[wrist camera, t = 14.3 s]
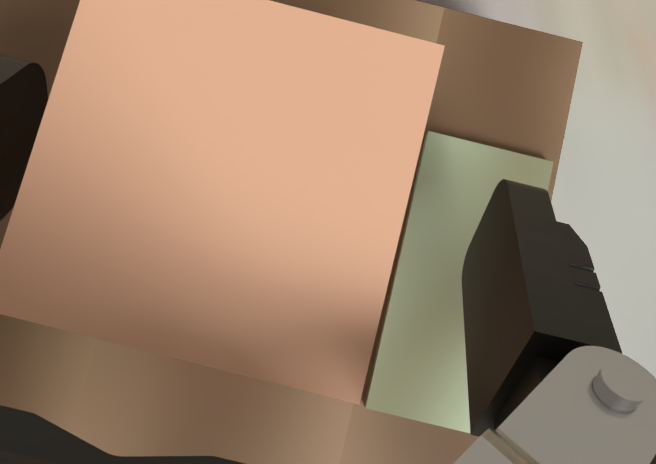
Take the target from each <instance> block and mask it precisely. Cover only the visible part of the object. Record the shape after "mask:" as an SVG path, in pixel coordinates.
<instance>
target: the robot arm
mask: <svg viewBox="0 0 656 464" xmlns="http://www.w3.org/2000/svg"><path fill="white" fill-rule="evenodd" d="M47 102H48V92H47V82H46V76H45V73H44V70H43V68H42V67H41V66H40V65H39V64H38V63H35V62H31V61H27V60H23V59H19V58H15V57H10V56H6V55H2V54H0V221H1V220H2V219H3V218H4V217H5V216H6V215H7V214H8V213H9V212H10V211H11V209H12V208H13V207H14V205H15V202H16V199H17V196H18V193H19V189H20V186H21V183H22V180H23V177H24V174H25V171H26V168H27V164H28V161H29V158H30V155H31V152H32V149H33V146H34V143H35V139H36V136H37V133H38V130H39V127H40V124H41V121H42V118H43V115H44V111H45V108H46V105H47ZM593 271H594V266H593V263H592V260H591V257H590V254H589V251H588V248H587V246H586V245H585V243H584V242H583V241H582V240H581V239H580V237H579V236H578V235H577V234H576V233H575V231H574V230H573V229H572V228H571V226H570V225H569V224H565V223H561V222H556V219H555V215H554V212H553V208H552V204H551V201H550V197H549V194H548V191H547V190H546V189H543V188H539V187H535V186H530V185H526V184H522V183H518V182H514V181H510V180H506V179H502V180H501V181H500V182H499V183H498V184H497V186H496V188H495V190H494V192H493V194H492V196H491V198H490V201H489V203H488V205H487V207H486V209H485V212H484V214H483V216H482V218H481V220H480V223H479V225H478V227H477V229H476V231H475V234H474V236H473V238H472V240H471V242H470V245H469V247H468V250H467V252H466V256H465V259H464V264H463V269H462V297H463V314H464V331H465V348H466V365H467V383H468V400H469V417H470V434H471V435H474V436H478V437H479V438H478V439H477V440H476V441H475V442H474V443H473V444H472V445H471V446H470V447H469V448H468V449H467V450H466V451H465V452H464V453H463V454H462V455H461V456H460V457H459V458H458V459H457V460H456V461H455V462H454V464H656V379H655V377H654V376H653V375H652V374H650V373H649V372H648V371H647V370H646V369H645V368H644V367H642V366H641V365H640V364H638V363H637V362H635V361H634V360H632V359H631V358H629V357H627V356H625V355H623V354H622V351H621V348H620V345H619V342H618V339H617V336H616V333H615V330H614V327H613V324H612V321H611V318H610V315H609V312H608V309H607V306H606V303H605V300H604V296H603V293H602V292H600V291H599V290H600V284H599V281H598V278H597V275H596V273H593ZM0 464H245V463H241V462H237V461H233V460H229V459H224V458H220V457H216V456H115V455H111V454H109V453H106V452H104V451H102V450H101V449H99V448H97V447H95V446H93V445H91V444H90V443H88V442H86V441H84V440H82V439H81V438H79V437H77V436H75V435H73V434H71V433H70V432H68V431H66V430H64V429H62V428H60V427H59V426H57V425H55V424H53V423H51V422H49V421H48V420H46V419H44V418H42V417H40V416H38V415H37V414H35V413H31V412H27V411H23V410H19V409H15V408H10V407H6V406H2V405H0Z"/></svg>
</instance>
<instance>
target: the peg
mask: <svg viewBox="0 0 656 464" xmlns="http://www.w3.org/2000/svg"><path fill="white" fill-rule="evenodd" d="M444 47H445V46H444V45H440V44H436V43H432V42H429V41H425V40H421V39H417V38H413V37H409V36H405V35H402V34H398V33H394V32H390V31H386V30H382V29H378V28H375V27H371V26H367V25H363V24H359V23H355V22H351V21H347V20H344V19H340V18H336V17H332V16H328V15H324V14H320V13H317V12H313V11H309V10H305V9H301V8H297V7H293V6H289V5H286V4H282V3H278V2H274V1H270V0H80V2H79V5H78V8H77V12H76V15H75V18H74V21H73V24H72V27H71V30H70V33H69V36H68V40H67V43H66V46H65V49H64V52H63V55H62V58H61V61H60V65H59V68H58V71H57V74H56V77H55V80H54V83H53V86H52V90H51V93H50V96H49V99H48V102H47V105H46V108H45V111H44V115H43V118H42V121H41V124H40V127H39V130H38V133H37V136H36V139H35V143H34V146H33V149H32V152H31V155H30V158H29V161H28V164H27V168H26V171H25V174H24V177H23V180H22V183H21V186H20V189H19V193H18V196H17V199H16V202H15V205H14V208H13V211H12V214H11V218H10V221H9V224H8V227H7V230H6V233H5V236H4V239H3V242H2V246H1V249H0V314H1V315H5V316H9V317H13V318H17V319H21V320H25V321H29V322H33V323H37V324H41V325H45V326H49V327H53V328H57V329H61V330H65V331H69V332H73V333H77V334H81V335H85V336H89V337H93V338H97V339H101V340H105V341H109V342H113V343H117V344H121V345H125V346H129V347H133V348H137V349H140V350H144V351H148V352H152V353H156V354H160V355H164V356H168V357H172V358H176V359H180V360H184V361H188V362H192V363H196V364H200V365H204V366H208V367H212V368H216V369H220V370H224V371H228V372H232V373H236V374H240V375H244V376H248V377H252V378H256V379H260V380H264V381H268V382H272V383H276V384H280V385H284V386H287V387H291V388H295V389H299V390H303V391H307V392H311V393H315V394H319V395H323V396H327V397H331V398H335V399H339V400H343V401H347V402H351V403H355V404H360V400H361V396H362V392H363V387H364V383H365V379H366V375H367V371H368V366H369V362H370V358H371V354H372V350H373V345H374V341H375V337H376V333H377V329H378V324H379V320H380V316H381V312H382V308H383V303H384V299H385V295H386V291H387V287H388V282H389V278H390V274H391V270H392V266H393V261H394V257H395V253H396V249H397V245H398V240H399V236H400V232H401V228H402V224H403V219H404V215H405V211H406V207H407V203H408V198H409V194H410V190H411V186H412V182H413V177H414V173H415V169H416V165H417V161H418V156H419V152H420V148H421V144H422V140H423V135H424V131H425V127H426V123H427V119H428V114H429V110H430V106H431V102H432V98H433V94H434V89H435V85H436V81H437V77H438V73H439V68H440V64H441V60H442V56H443V52H444Z"/></svg>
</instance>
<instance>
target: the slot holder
mask: <svg viewBox="0 0 656 464" xmlns="http://www.w3.org/2000/svg"><path fill="white" fill-rule="evenodd" d="M270 1H274V2H278V3H282V4H286V5H289V6H293V7H297V8H301V9H305V10H309V11H313V12H317V13H320V14H324V15H328V16H332V17H336V18H340V19H344V20H347V21H351V22H355V23H359V24H363V25H367V26H371V27H375V28H378V29H382V30H386V31H390V32H394V33H398V34H402V35H405V36H409V37H413V38H417V39H421V40H425V41H429V42H432V43H436V44H440V45H444V46H445V47H444V52H443V56H442V60H441V64H440V68H439V73H438V77H437V81H436V85H435V89H434V94H433V98H432V102H431V106H430V110H429V114H428V119H427V123H426V127H425V131H424V135H423V140H422V144H421V148H420V152H419V156H418V161H417V165H416V169H415V173H414V177H413V182H412V186H411V190H410V194H409V198H408V203H407V207H406V211H405V215H404V219H403V224H402V228H401V232H400V236H399V240H398V245H397V249H396V253H395V257H394V261H393V266H392V270H391V274H390V278H389V282H388V287H387V291H386V295H385V299H384V303H383V308H382V312H381V316H380V320H379V324H378V329H377V333H376V337H375V341H374V345H373V350H372V354H371V358H370V362H369V366H368V371H367V375H366V379H365V383H364V387H363V392H362V396H361V400H360V404H355V403H351V402H347V401H343V400H339V399H335V398H331V397H327V396H323V395H319V394H315V393H311V392H307V391H303V390H299V389H295V388H291V387H287V386H284V385H280V384H276V383H272V382H268V381H264V380H260V379H256V378H252V377H248V376H244V375H240V374H236V373H232V372H228V371H224V370H220V369H216V368H212V367H208V366H204V365H200V364H196V363H192V362H188V361H184V360H180V359H176V358H172V357H168V356H164V355H160V354H156V353H152V352H148V351H144V350H140V349H137V348H133V347H129V346H125V345H121V344H117V343H113V342H109V341H105V340H101V339H97V338H93V337H89V336H85V335H81V334H77V333H73V332H69V331H65V330H61V329H57V328H53V327H49V326H45V325H41V324H37V323H33V322H29V321H25V320H21V319H17V318H13V317H9V316H5V315H1V314H0V405H2V406H6V407H10V408H15V409H19V410H23V411H27V412H31V413H35V414H37V415H38V416H40V417H42V418H44V419H46V420H48V421H49V422H51V423H53V424H55V425H57V426H59V427H60V428H62V429H64V430H66V431H68V432H70V433H71V434H73V435H75V436H77V437H79V438H81V439H82V440H84V441H86V442H88V443H90V444H91V445H93V446H95V447H97V448H99V449H101V450H102V451H104V452H106V453H109V454H111V455H115V456H216V457H220V458H224V459H229V460H233V461H237V462H241V463H245V464H454V462H455V461H456V460H457V459H458V458H459V457H460V456H461V455H462V454H463V453H464V452H465V451H466V450H467V449H468V448H469V447H470V446H471V445H472V444H473V443H474V442H475V441H476V440H477V439H478V438H479V437H478V436H474V435H471V434H470V417H469V400H468V383H467V365H466V348H465V331H464V314H463V297H462V269H463V264H464V259H465V256H466V252H467V250H468V247H469V245H470V242H471V240H472V238H473V236H474V234H475V231H476V229H477V227H478V225H479V223H480V220H481V218H482V216H483V214H484V212H485V209H486V207H487V205H488V203H489V201H490V198H491V196H492V194H493V192H494V190H495V188H496V186H497V184H498V183H499V182H500V181H501V180H502V179H506V180H510V181H514V182H518V183H522V184H526V185H530V186H535V187H539V188H543V189H546V190H547V191H548V194H549V197H550V201H551V199H552V194H553V189H554V184H555V179H556V174H557V169H558V164H559V159H560V154H561V149H562V144H563V139H564V134H565V129H566V124H567V119H568V113H569V108H570V103H571V98H572V93H573V88H574V83H575V78H576V73H577V68H578V63H579V58H580V53H581V48H582V43H583V42H580V41H576V40H572V39H568V38H564V37H560V36H556V35H552V34H548V33H544V32H540V31H536V30H532V29H528V28H524V27H520V26H516V25H512V24H508V23H504V22H500V21H496V20H492V19H488V18H484V17H480V16H476V15H472V14H468V13H464V12H460V11H456V10H452V9H448V8H444V7H440V6H436V5H432V4H428V3H424V2H420V1H416V0H270ZM79 2H80V0H0V54H2V55H6V56H10V57H15V58H19V59H23V60H27V61H31V62H35V63H38V64H39V65H40V66H41V67H42V68H43V70H44V73H45V76H46V82H47V92H48V99H49V96H50V93H51V90H52V86H53V83H54V80H55V77H56V74H57V71H58V68H59V65H60V61H61V58H62V55H63V52H64V49H65V46H66V43H67V40H68V36H69V33H70V30H71V27H72V24H73V21H74V18H75V15H76V12H77V8H78V5H79ZM13 208H14V207H13ZM13 208H12V209H11V211H10V212H9V213H8V214H7V215H6V216H5V217H4V218H3V219H2V220H1V221H0V249H1V246H2V242H3V239H4V236H5V233H6V230H7V227H8V224H9V221H10V218H11V214H12V211H13Z"/></svg>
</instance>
